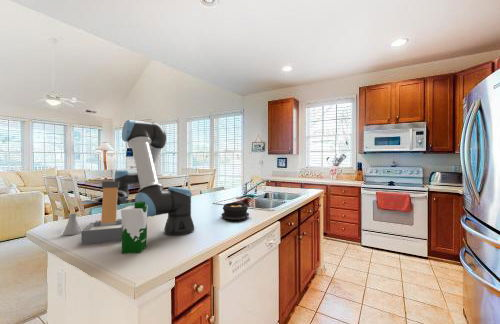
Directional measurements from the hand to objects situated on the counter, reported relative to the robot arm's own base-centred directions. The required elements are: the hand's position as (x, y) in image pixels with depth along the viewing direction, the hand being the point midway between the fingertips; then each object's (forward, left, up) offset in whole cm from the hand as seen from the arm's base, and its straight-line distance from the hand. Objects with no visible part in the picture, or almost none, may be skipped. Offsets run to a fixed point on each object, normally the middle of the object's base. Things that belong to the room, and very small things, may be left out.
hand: (108, 204), depth 113 cm
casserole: (-46, -55, -16) cm, 73 cm away
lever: (-3, +2, -9) cm, 10 cm away
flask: (+19, +4, -15) cm, 25 cm away
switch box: (-3, +2, -15) cm, 16 cm away
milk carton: (-27, +10, -15) cm, 33 cm away
